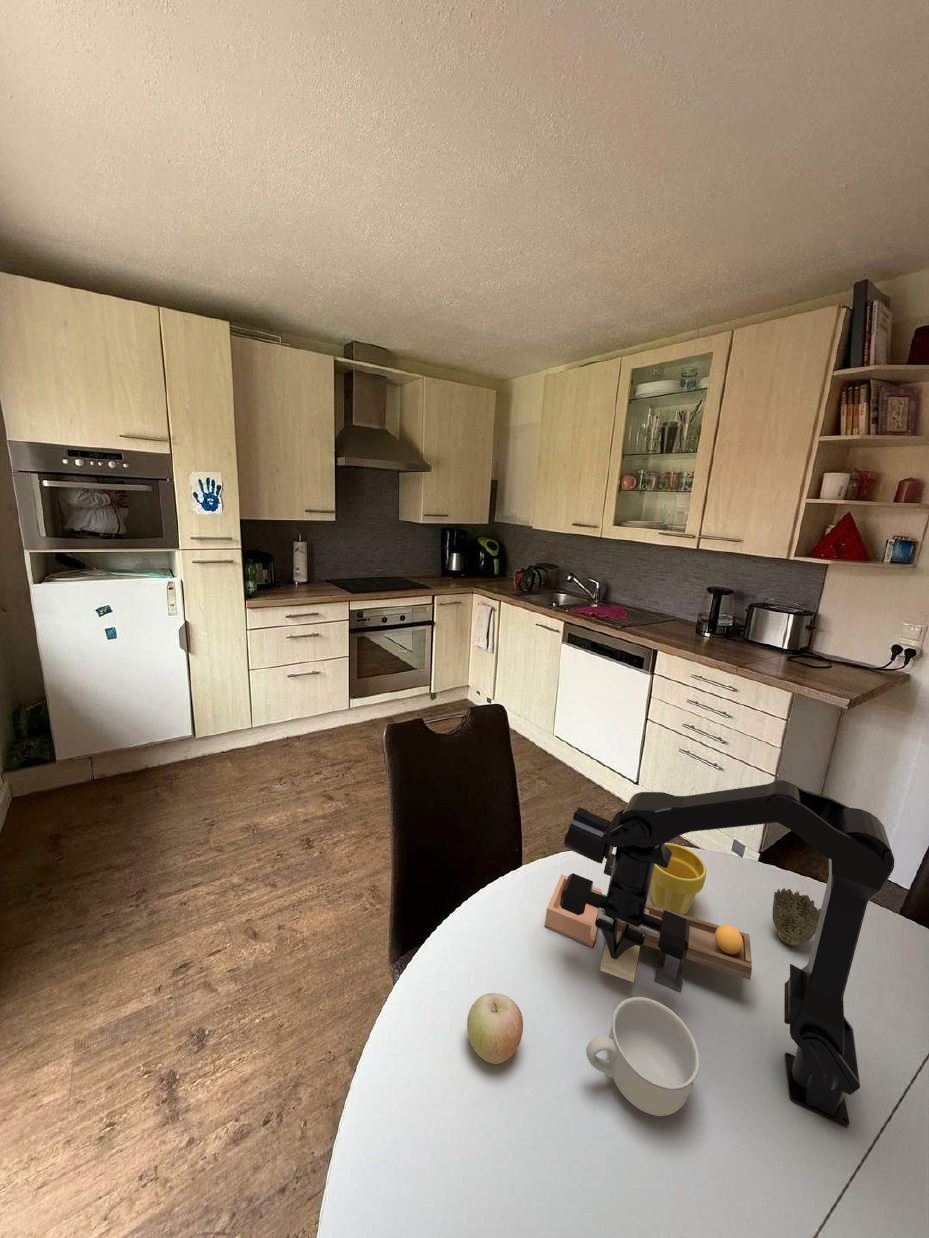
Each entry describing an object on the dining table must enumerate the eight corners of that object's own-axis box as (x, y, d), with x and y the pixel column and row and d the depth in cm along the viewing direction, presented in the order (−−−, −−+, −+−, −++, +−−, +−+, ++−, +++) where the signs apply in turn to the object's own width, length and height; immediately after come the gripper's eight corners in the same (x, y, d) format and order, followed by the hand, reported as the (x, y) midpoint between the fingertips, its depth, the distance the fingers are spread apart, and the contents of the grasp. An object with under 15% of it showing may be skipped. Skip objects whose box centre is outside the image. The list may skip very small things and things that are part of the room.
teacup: (674, 1047, 72) (684, 1002, 70) (701, 1141, 61) (714, 1091, 59) (575, 1031, 73) (582, 987, 71) (584, 1120, 62) (593, 1071, 61)
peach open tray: (592, 947, 87) (595, 928, 86) (544, 926, 90) (547, 907, 89) (603, 909, 95) (606, 891, 94) (559, 891, 99) (561, 874, 98)
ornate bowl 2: (822, 960, 88) (833, 922, 86) (780, 956, 88) (790, 918, 86) (796, 925, 95) (806, 889, 93) (756, 921, 95) (766, 885, 93)
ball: (745, 962, 79) (741, 939, 78) (716, 958, 81) (713, 935, 80) (744, 943, 82) (740, 920, 82) (716, 939, 84) (713, 917, 84)
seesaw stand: (680, 992, 80) (686, 966, 79) (654, 980, 82) (659, 955, 80) (684, 936, 91) (689, 913, 89) (661, 927, 92) (665, 904, 91)
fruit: (474, 1082, 66) (479, 1034, 64) (460, 1025, 72) (464, 981, 71) (528, 1068, 68) (535, 1021, 66) (509, 1014, 75) (515, 971, 73)
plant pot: (629, 887, 101) (637, 845, 99) (672, 879, 104) (680, 838, 102) (663, 929, 92) (673, 884, 89) (709, 919, 95) (719, 875, 93)
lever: (753, 1026, 70) (755, 1011, 70) (594, 967, 80) (594, 953, 79) (747, 945, 84) (749, 932, 83) (611, 903, 93) (611, 891, 92)
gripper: (699, 865, 80) (679, 945, 84) (582, 823, 88) (569, 898, 92) (697, 914, 70) (674, 1001, 74) (566, 862, 78) (552, 944, 82)
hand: (614, 956), depth 81 cm, fingers closed, pressing on lever
